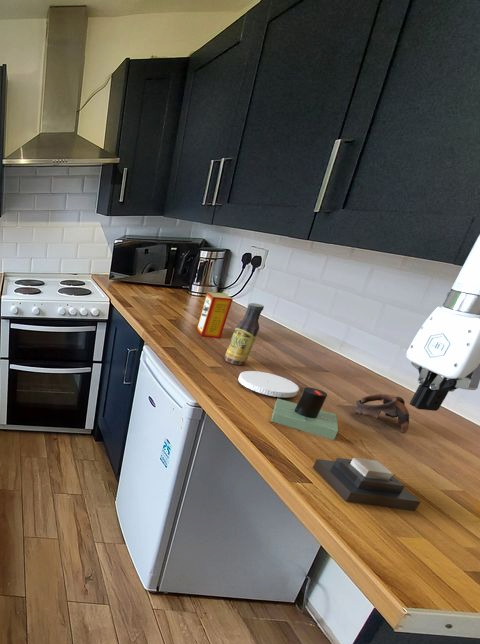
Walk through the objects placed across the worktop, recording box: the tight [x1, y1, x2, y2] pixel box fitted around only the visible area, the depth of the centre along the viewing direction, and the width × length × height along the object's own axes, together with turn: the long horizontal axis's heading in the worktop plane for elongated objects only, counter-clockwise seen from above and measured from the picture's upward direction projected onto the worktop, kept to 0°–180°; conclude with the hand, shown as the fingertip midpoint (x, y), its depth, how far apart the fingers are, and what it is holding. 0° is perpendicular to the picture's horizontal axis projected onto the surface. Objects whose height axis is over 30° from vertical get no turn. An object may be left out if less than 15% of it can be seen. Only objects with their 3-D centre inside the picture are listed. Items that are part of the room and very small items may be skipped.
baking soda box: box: [195, 291, 234, 339], centre depth 157 cm, size 10×6×16 cm
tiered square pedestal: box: [312, 457, 421, 512], centre depth 76 cm, size 11×10×4 cm
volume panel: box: [270, 398, 339, 441], centre depth 98 cm, size 12×10×3 cm
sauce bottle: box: [224, 302, 265, 366], centre depth 129 cm, size 6×6×20 cm
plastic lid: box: [238, 370, 300, 399], centre depth 114 cm, size 14×14×2 cm
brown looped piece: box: [353, 393, 410, 434], centre depth 100 cm, size 12×10×8 cm
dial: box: [295, 386, 328, 418], centre depth 96 cm, size 4×4×6 cm
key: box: [350, 457, 394, 480], centre depth 75 cm, size 4×4×2 cm
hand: (423, 407), depth 70 cm, fingers closed
